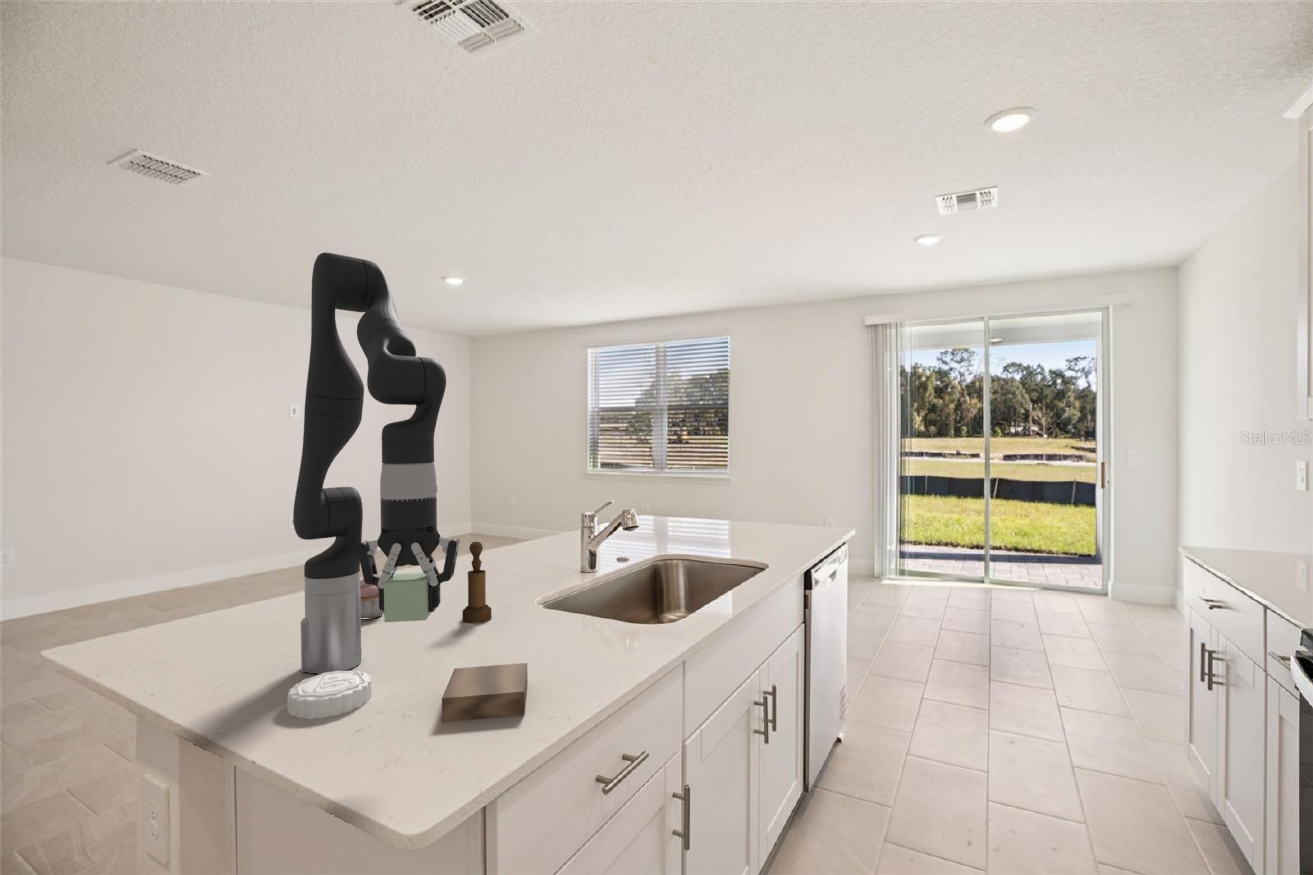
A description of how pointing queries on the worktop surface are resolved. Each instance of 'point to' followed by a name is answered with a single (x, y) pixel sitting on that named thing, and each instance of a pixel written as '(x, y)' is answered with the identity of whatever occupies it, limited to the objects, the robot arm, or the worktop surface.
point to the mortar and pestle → (476, 590)
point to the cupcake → (369, 600)
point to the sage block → (406, 598)
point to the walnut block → (485, 692)
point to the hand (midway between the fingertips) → (410, 611)
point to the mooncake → (329, 694)
